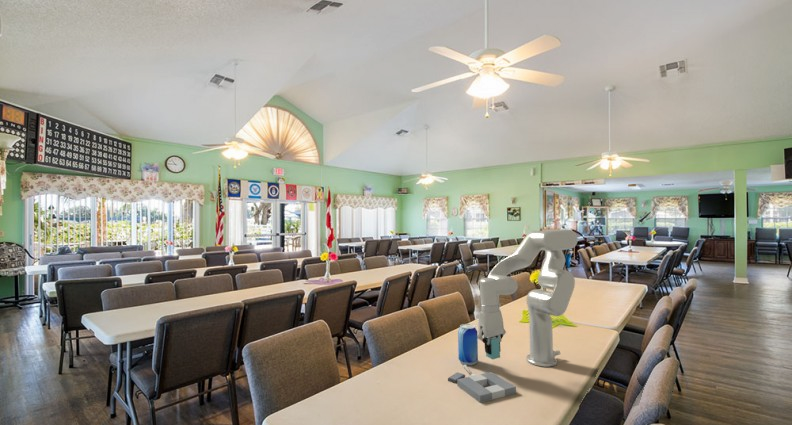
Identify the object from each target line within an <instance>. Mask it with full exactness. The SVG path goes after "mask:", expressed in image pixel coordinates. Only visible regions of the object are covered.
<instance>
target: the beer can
mask: <svg viewBox="0 0 792 425" xmlns="http://www.w3.org/2000/svg"><path fill="white" fill-rule="evenodd" d="M457 332H458V334H457V336H458V340H457V342H458V347H457V348H458V360H459V362H460V363H461V365H466V366H475V365H476V364H477V362H478V361H479V351H478V350H479V349H478V348H479V347H478V346H479V345H478V343H479V341H478V340H479V339H478V338H477V337H478V330H477V328H476V325H474V324H471V323H462V324H460V325H459V328H458V330H457Z"/></svg>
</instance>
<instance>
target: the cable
mask: <svg viewBox="0 0 792 425" xmlns="http://www.w3.org/2000/svg"><path fill="white" fill-rule="evenodd" d="M462 368H463V369H465V370H466V371H467V373H468V374H469V375H470V376H475V375H476V374H474V373H472V371H471V370H470V369H469V368H468V365H464V364H462Z"/></svg>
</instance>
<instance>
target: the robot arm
mask: <svg viewBox="0 0 792 425" xmlns="http://www.w3.org/2000/svg"><path fill="white" fill-rule="evenodd" d="M578 240H579V236H578V235H577V233H576V232H575V231H573V230H571V229H559V228H558V229H555V228H551V229H546V230H532V231H531V230H530V231H529V232H528V233H527V234H526V236H524V238H523V239H522V240H521V242H520V243H519V245H518V246H517V248H516V249H515V250H514V252H512V254H510V255H509V256H507V257H506V258H504V259H502V260H501V261H499V262H498V263H496V264H495V266H493V268H492V269H491V270H490V272H489V274H488V275H487V277H483V278H481V279H479V294H480V295H479V296H480V311H479V314H478V320H477V321H478V322H477V323H478V324H477V326H478V330H477V335H478V337H477V338H478V340H479V341H481V342H482V343H484V351H485V354H486V353H488V354H491V345H490V337H493V336H496V337H498V338H499V345H500V346H501V342H502V339H503V337H504V335H506V333H507V331H506V329H505V327H504V319H503V314H502V311H501V308H500V307H502V304H501V303H500V296H502V295H504V296H508V295H512V294H515V293H516V292H517V290H518V288H519V286H518V284H519V283H518V282H517V280H516V279H515V278H513V277H512V276H508V275H509V274H511V273H513V272H515V271H519V270H523V269H525V268H528V267H529V266H531V265H532V264H533V261H534V260H535V259H536V257H537V256H538V255H539V253H540V252H541V251H544V253H545V256H544V261H543V263H542V267H541V269H540V272H539V273H538V277H537V283H538V285H539V286H540V287H542V288H543V289H537V288H535V289H531V290H530V291H528V293H527V296H526V300H525V301H526V305H527V311H528V317H529V318H528V319H529V320H528V321H529V323H528V325H529V354H527V355H526V357H525V358H526V361H527V363H529V364H532V365H535V366H536V367H537V366H538V367H545V368H546V367H547V368H548V367H549V368H550V367H555V366H556V365H557V364H558V360H557V359H556V358H555V357H556V356H559V355H561V351H560V350H554V342H553V340H554V338H553V335H554V334H553V319H552V316H553V317H560V316H563V315H564V314H565V312H566V311H567V309H568V307H569V303H570V301H571V298H572V296H573V292H574V289H575V284H576V283H575V282H576V281H575V280H576V279H575V276H574V275H573V273H571V271H568V270H565V269H564V267H565V263H566V257H565V254H564V253H563V251H565V250H571V249H574V248H575V247H576V246H577V244H578ZM544 289H546V290H544ZM547 289H548V290H551V291H552V292H551V291H548V290H547ZM486 339H487V340H486Z"/></svg>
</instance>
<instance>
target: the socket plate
mask: <svg viewBox="0 0 792 425" xmlns="http://www.w3.org/2000/svg"><path fill="white" fill-rule="evenodd" d="M474 375H475V376H471V375H470V376H467V377H466V376H465V378H461V379H457V383H456V386H457V387H459V388H460V389H461V390H462V391H463V392H465V393H467V394H468V395H469V396H471V397H472V398H473V399H475V400H476V401H477V402H478V403H484V402H485V403H486V402H488V401H493V400H495V399H500V398H504V397H507V396H511V395H514V394H517V386H515V385H514V384H513V383H511V382H509V381H507V380H506V379H504V378H502V377H501V376H498V375H497V374H495V373H493V372H492V371H490V372H484V373H479V374H474ZM485 386H486V387H485Z"/></svg>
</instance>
